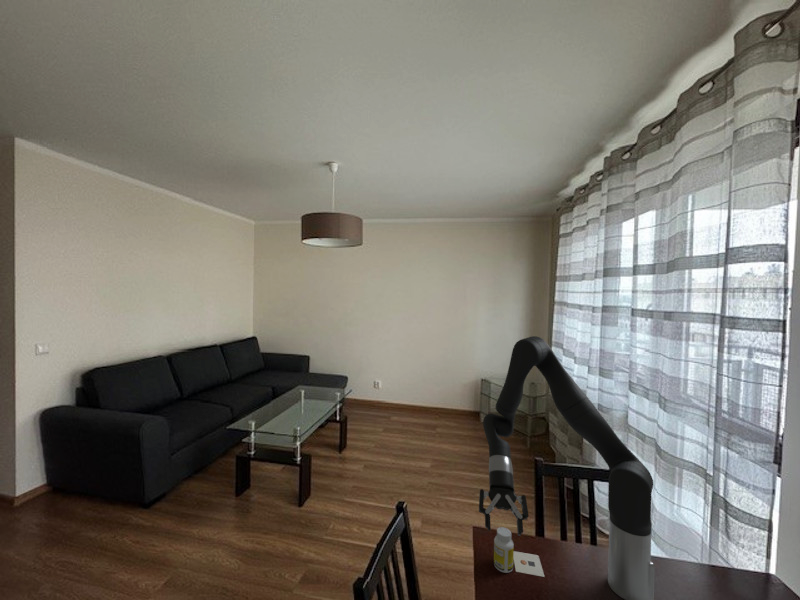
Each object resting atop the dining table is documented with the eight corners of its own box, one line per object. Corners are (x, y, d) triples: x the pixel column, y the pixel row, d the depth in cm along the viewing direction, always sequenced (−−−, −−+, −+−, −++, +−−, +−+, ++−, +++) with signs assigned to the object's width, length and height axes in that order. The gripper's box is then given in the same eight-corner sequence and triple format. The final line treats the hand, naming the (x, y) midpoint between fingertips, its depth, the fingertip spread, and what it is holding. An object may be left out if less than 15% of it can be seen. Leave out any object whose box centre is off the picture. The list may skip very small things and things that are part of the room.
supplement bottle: (510, 559, 97) (511, 526, 97) (515, 574, 91) (516, 539, 91) (491, 557, 97) (492, 524, 97) (495, 572, 92) (496, 537, 92)
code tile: (538, 556, 99) (538, 555, 99) (544, 577, 91) (544, 576, 91) (511, 551, 100) (511, 550, 100) (516, 572, 92) (516, 571, 92)
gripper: (479, 466, 106) (479, 525, 94) (525, 472, 103) (532, 533, 92) (477, 474, 111) (478, 531, 99) (522, 480, 108) (528, 539, 97)
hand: (504, 532), depth 95 cm, fingers open, 8 cm apart
